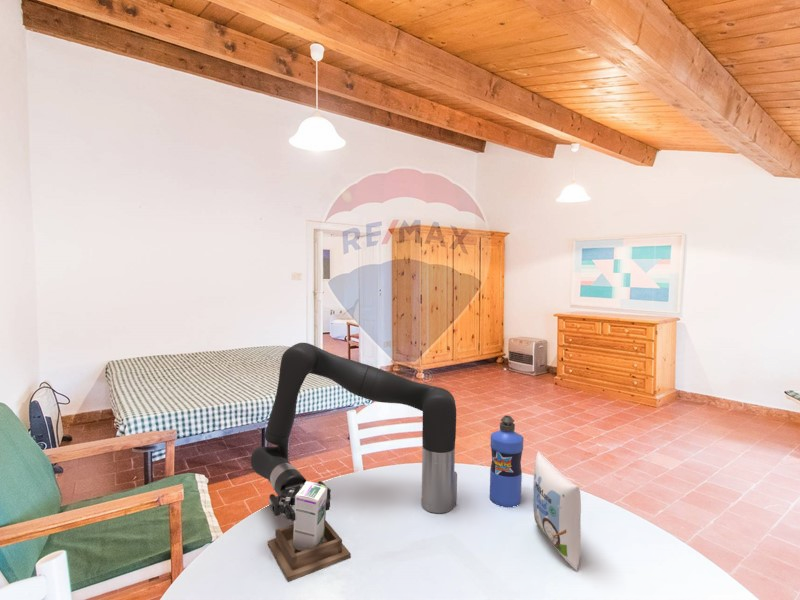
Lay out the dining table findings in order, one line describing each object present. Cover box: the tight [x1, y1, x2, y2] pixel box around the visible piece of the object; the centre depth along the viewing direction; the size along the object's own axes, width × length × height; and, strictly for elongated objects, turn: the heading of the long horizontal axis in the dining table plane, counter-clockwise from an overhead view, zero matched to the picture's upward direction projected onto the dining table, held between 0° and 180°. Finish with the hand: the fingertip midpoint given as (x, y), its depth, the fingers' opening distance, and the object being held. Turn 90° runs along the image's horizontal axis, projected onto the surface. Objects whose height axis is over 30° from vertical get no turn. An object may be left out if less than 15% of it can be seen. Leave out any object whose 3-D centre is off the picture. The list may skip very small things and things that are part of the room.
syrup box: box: [293, 480, 328, 551], centre depth 103 cm, size 6×6×14 cm
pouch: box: [532, 451, 582, 572], centre depth 108 cm, size 8×19×20 cm, turn 5°
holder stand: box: [267, 519, 352, 583], centre depth 105 cm, size 15×15×4 cm
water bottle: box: [489, 415, 524, 508], centre depth 129 cm, size 9×9×25 cm
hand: (311, 511), depth 103 cm, fingers closed on syrup box, 8 cm apart
